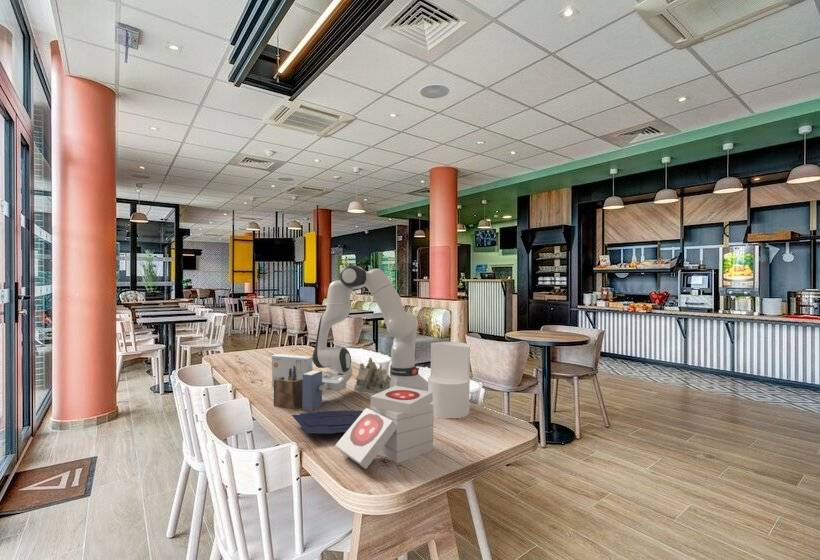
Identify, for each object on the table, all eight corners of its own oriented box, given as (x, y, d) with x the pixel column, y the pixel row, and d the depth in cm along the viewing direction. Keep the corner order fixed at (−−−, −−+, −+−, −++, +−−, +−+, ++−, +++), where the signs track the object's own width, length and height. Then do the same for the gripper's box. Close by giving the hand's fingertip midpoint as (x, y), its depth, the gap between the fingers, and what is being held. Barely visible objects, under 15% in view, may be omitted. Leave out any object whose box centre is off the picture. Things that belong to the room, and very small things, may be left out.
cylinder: (439, 402, 181) (439, 340, 181) (475, 409, 172) (476, 343, 172) (420, 414, 166) (420, 346, 166) (459, 422, 157) (459, 350, 157)
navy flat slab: (289, 420, 155) (290, 411, 155) (361, 416, 170) (362, 407, 170) (306, 443, 134) (308, 432, 134) (387, 436, 149) (388, 426, 149)
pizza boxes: (332, 455, 128) (332, 398, 128) (407, 432, 146) (407, 383, 146) (364, 479, 113) (364, 415, 113) (443, 451, 131) (443, 395, 131)
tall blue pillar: (322, 405, 176) (322, 370, 176) (311, 411, 169) (311, 375, 169) (313, 404, 178) (313, 370, 178) (302, 409, 170) (302, 374, 170)
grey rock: (349, 388, 203) (351, 358, 202) (374, 383, 214) (376, 355, 214) (369, 397, 192) (372, 365, 191) (394, 391, 204) (396, 361, 203)
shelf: (311, 400, 183) (311, 375, 183) (294, 408, 172) (294, 381, 171) (290, 398, 187) (290, 373, 187) (273, 405, 175) (273, 379, 175)
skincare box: (271, 386, 206) (271, 355, 206) (277, 383, 211) (277, 353, 211) (307, 390, 200) (307, 358, 200) (313, 387, 205) (313, 356, 205)
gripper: (310, 371, 190) (292, 378, 177) (349, 375, 183) (333, 382, 170) (310, 384, 190) (292, 392, 177) (348, 389, 183) (333, 397, 170)
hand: (312, 387), depth 173 cm, fingers closed on tall blue pillar, 4 cm apart
